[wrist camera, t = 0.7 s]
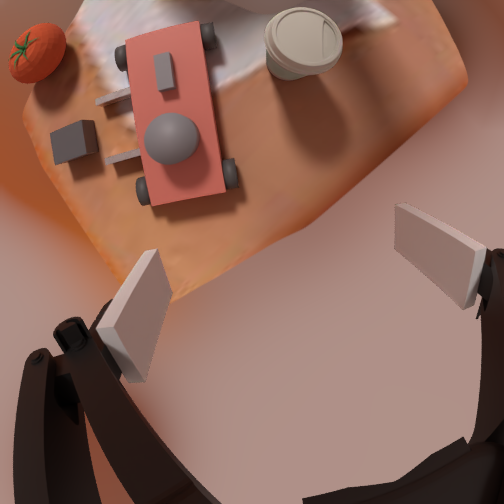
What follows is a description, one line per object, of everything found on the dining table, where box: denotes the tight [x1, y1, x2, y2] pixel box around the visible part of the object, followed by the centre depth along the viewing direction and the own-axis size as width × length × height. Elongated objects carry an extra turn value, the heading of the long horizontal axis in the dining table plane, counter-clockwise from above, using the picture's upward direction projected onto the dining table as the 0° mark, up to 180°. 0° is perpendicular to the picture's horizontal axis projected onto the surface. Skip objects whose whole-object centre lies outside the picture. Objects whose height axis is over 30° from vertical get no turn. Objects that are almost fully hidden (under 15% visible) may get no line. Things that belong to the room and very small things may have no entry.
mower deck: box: [115, 21, 239, 206], centre depth 30 cm, size 24×13×8 cm, turn 8°
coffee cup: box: [264, 7, 343, 81], centre depth 27 cm, size 8×8×12 cm
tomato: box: [9, 23, 66, 84], centre depth 23 cm, size 10×10×10 cm
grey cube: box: [50, 120, 98, 165], centre depth 32 cm, size 5×6×4 cm
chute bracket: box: [95, 87, 141, 165], centre depth 33 cm, size 10×6×2 cm, turn 8°
